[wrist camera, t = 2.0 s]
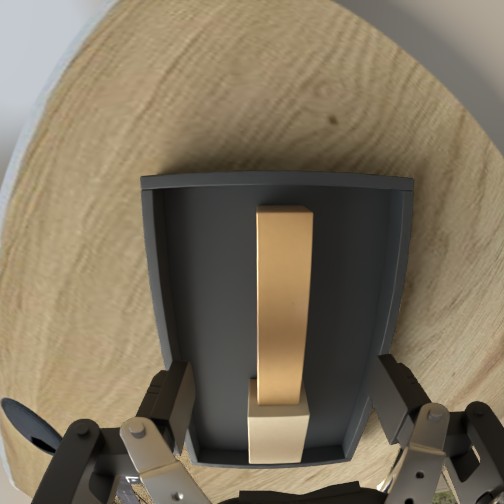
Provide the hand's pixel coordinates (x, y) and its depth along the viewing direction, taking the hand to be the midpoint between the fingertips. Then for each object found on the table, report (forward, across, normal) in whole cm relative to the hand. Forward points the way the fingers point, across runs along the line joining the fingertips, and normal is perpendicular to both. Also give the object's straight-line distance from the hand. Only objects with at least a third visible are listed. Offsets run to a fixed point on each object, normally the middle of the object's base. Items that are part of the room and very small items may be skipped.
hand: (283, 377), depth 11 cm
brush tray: (+4, 0, +2) cm, 5 cm away
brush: (+4, 0, +2) cm, 4 cm away
